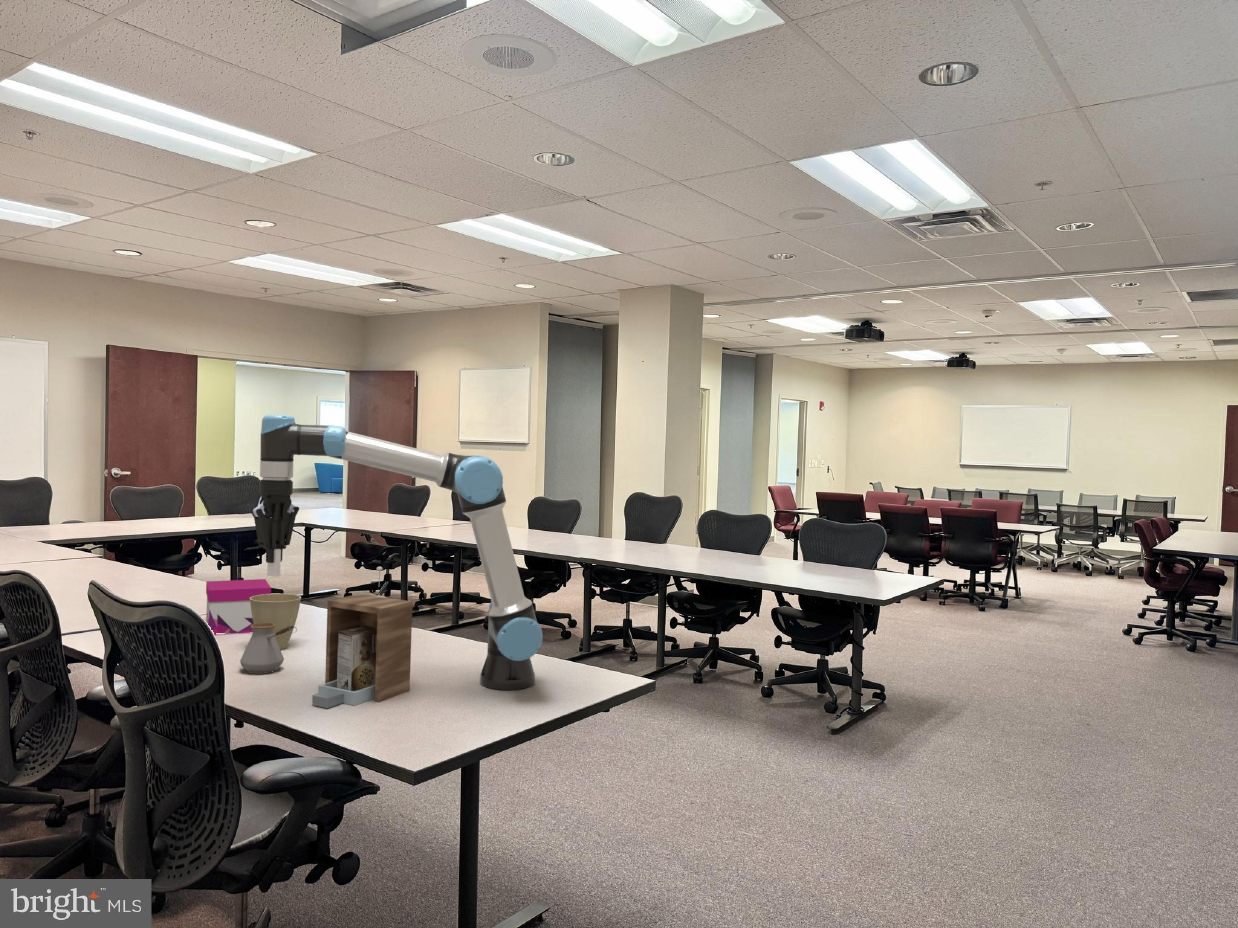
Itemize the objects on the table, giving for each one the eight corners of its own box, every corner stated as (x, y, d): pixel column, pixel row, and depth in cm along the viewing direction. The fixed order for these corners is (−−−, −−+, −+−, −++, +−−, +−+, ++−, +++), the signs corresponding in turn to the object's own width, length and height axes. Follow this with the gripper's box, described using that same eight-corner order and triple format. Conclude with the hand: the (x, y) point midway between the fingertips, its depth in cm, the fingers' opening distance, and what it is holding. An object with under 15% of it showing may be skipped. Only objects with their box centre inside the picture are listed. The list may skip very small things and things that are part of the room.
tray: (392, 691, 223) (392, 679, 223) (338, 711, 206) (338, 698, 206) (357, 684, 229) (357, 672, 229) (301, 703, 211) (302, 690, 211)
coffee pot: (231, 669, 239) (233, 617, 239) (270, 662, 249) (271, 611, 248) (272, 685, 226) (274, 629, 226) (311, 676, 235) (312, 623, 235)
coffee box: (365, 685, 226) (367, 624, 225) (380, 690, 222) (382, 628, 221) (335, 692, 218) (337, 630, 218) (350, 697, 214) (352, 634, 214)
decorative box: (205, 624, 295) (206, 581, 295) (264, 620, 304) (265, 579, 304) (207, 635, 279) (208, 590, 278) (269, 631, 288) (271, 587, 287)
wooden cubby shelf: (409, 691, 225) (412, 601, 225) (378, 702, 214) (381, 608, 214) (357, 681, 233) (360, 593, 232) (324, 691, 222) (327, 600, 222)
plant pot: (288, 654, 258) (289, 602, 258) (239, 652, 259) (241, 600, 258) (307, 643, 273) (308, 594, 273) (261, 641, 274) (262, 592, 273)
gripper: (286, 477, 214) (283, 571, 214) (243, 478, 202) (240, 577, 202) (308, 479, 210) (305, 574, 211) (265, 480, 199) (263, 580, 199)
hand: (273, 575), depth 207 cm, fingers closed
